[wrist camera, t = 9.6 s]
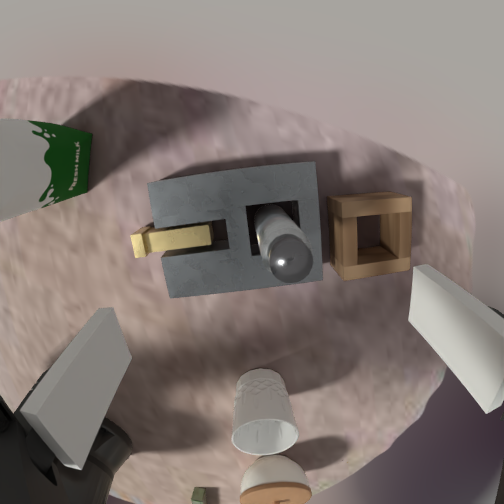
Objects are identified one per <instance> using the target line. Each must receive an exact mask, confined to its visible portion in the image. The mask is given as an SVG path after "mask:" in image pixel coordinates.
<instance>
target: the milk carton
mask: <svg viewBox="0 0 504 504" xmlns="http://www.w3.org/2000/svg"><path fill="white" fill-rule="evenodd" d="M91 141H92V134H91V133H87V132H84V131H80V130H77V129H73V128H69V127H65V126H62V125H58V124H52V123H46V122H37V121H29V120H19V119H0V222H1V221H4V220H8V219H10V218H13V217H16V216H19V215H22V214H25V213H28V212H31V211H34V210H37V209H40V208H43V207H46V206H49V205H52V204H55V203H58V202H61V201H63V200H66V199H69V198H72V197H75V196H78V195H81V194H84V193H87V188H88V172H89V160H90V150H91Z"/></svg>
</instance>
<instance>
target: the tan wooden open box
mask: <svg viewBox="0 0 504 504" xmlns="http://www.w3.org/2000/svg"><path fill="white" fill-rule="evenodd" d="M327 205H328V221H329V241H330V265H331V266H332V267H333V268H334V270H335V271H336V272H337V273H338V274H339V276H340V277H341V278H342V279H343V281H347V280H353V279H360V278H366V277H372V276H378V275H384V274H390V273H395V272H401V271H407V270H410V257H411V232H412V197H409V196H405V195H402V194H398V193H394V192H375V193H361V194H349V195H336V196H327ZM378 214H380V246H375V247H368V248H360V249H357V217H358V216H368V215H378Z"/></svg>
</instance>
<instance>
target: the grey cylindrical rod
mask: <svg viewBox="0 0 504 504" xmlns="http://www.w3.org/2000/svg"><path fill="white" fill-rule="evenodd" d="M254 225H255V230H256V234H257V239H258V243H259V248H260V253H261V257H262V261H263V264H264V266H265V267H266V269H267V270H268V271H269V272H271V273H272V274H273V275H274V276H275V277H276V278H277V279H278V280H280V281H282V282H285V283H296V282H299V281H301V280H303V279H304V278H305V277H306V276H307V275H308V274H309V273H310V271H311V269H312V266H313V256H312V246H311V243H310V241H309V239H308V238H307V236H306V235H305V234H304V233H303V232H302V231H301V229H300V228H299V227H298V226H297V225H296V224H295V223H294V221H293V220H292V219H291V218H290V217H289V216H288V215H287V214H286V212H285V211H284V210H283V209H282V208H281V207H279V206H278V205H275V204H266V205H264V206H262V207H260V208H259V209H258V210H257V212H256V213H255V216H254Z"/></svg>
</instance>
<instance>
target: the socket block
mask: <svg viewBox="0 0 504 504" xmlns="http://www.w3.org/2000/svg"><path fill="white" fill-rule="evenodd" d="M147 185H148V191H149V197H150V203H151V209H152V215H153V220H154V226H155V229H157V228H163V227H170V226H177V225H184V224H191V223H198V222H205V221H213V220H220V219H226V226H227V233H228V239H225V240H217V241H212V244H211V245H204V246H196V247H188V248H181V249H173V250H167V251H166V252H165V253H164V254H163V256H162V257H161V261H162V266H163V270H164V275H165V279H166V283H167V288H168V292H169V296H170V298H179V297H189V296H199V295H208V294H217V293H226V292H235V291H243V290H252V289H260V288H268V287H276V286H283V285H291V284H298V283H305V282H313V281H320V280H323V271H322V247H321V229H320V213H319V200H318V187H317V176H316V165H315V161H312V162H294V163H283V164H272V165H263V166H254V167H245V168H237V169H229V170H222V171H215V172H208V173H201V174H194V175H188V176H182V177H176V178H170V179H165V180H159V181H155V182H151V183H147ZM291 200H292V211H293V221H294V223H295V224H296V225H297V226H298V227H299V228H300V229H301V231H302V232H303V233H304V234H305V235H306V236H307V238H308V239H309V241H310V243H311V246H312V256H313V266H312V269H311V271H310V273H309V274H308V275H307V276H306V277H305V278H304V279H303V280H301V281H299V282H296V283H285V282H282V281H280V280H278V279H277V278H276V277H275V276H274V275H273V274H272V273H271V272H269V271H268V270H267V269H266V267H265V266H264V264H263V261H262V257H261V253H260V248H259V244H256V245H250V239H249V231H248V223H247V215H246V207H245V206H247V205H255V204H264V203H273V202H282V201H291Z"/></svg>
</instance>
